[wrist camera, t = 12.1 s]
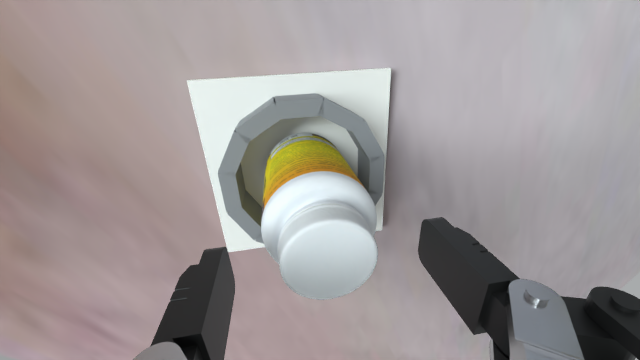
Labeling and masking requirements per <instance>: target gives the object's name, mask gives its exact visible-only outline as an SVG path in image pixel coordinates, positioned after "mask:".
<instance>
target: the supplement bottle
mask: <svg viewBox="0 0 640 360" xmlns="http://www.w3.org/2000/svg"><path fill="white" fill-rule="evenodd" d="M376 226H377V213H376V208H375V205H374V203H373V200H372V198H371V197H370V195H369V193H368V192H367V190H366V189H365V188H364V186H363V185H362V183H361V182H360V181H359V179H358V178H357V176H356V175H355V174H354V172H353V171H352V169H351V168H350V166H349V165H348V163H347V162H346V161H345V159H344V158H343V157H342V155H341V154H340V152H339V151H338V149H337V148H336V147H335V146H334V145H333V144H332V143H331V142H330V141H329V140H328V139H326V138H324V137H322V136H320V135H318V134H314V133H297V134H293V135H290V136H288V137H286V138H284V139H283V140H281V141H280V142H279V143H278V144H276V146H275V147H274V148H273V149H272V151H271V152H270V154H269V156H268V159H267V162H266V168H265V179H264V193H263V206H262V216H261V233H262V239H263V242H264V245H265V247H266V249H267V251H268V253H269V254H270V255H271V257H272V258H273V259H274V260H275V261H276V262H277V263H278V264H279V266H280V272H281V275H282V278H283V280H284V282H285V283H286V285H287V286H288V287H289V288H290V289H291V290H293V291H294V292H295V293H297V294H299V295H301V296H304V297H307V298H311V299H317V300H325V299H333V298H337V297H341V296H344V295H346V294H349V293H350V292H352V291H354V290H356V289H357V288H358V287H360V286H361V285H362V284H363V283H364V282H365V281H366V280H367V279H368V278H369V277H370V275H371V274H372V272H373V270H374V268H375V266H376V263H377V258H378V249H377V244H376V241H375V239H374V234H375V231H376Z"/></svg>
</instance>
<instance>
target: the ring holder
mask: <svg viewBox="0 0 640 360" xmlns="http://www.w3.org/2000/svg"><path fill="white" fill-rule="evenodd" d="M390 80H391V68H378V69H362V70H345V71H329V72H312V73H296V74H279V75H263V76H246V77H230V78H213V79H197V80H188V81H187V84H188V88H189V92H190V96H191V100H192V105H193V109H194V113H195V117H196V121H197V125H198V130H199V134H200V138H201V142H202V146H203V150H204V154H205V159H206V163H207V167H208V171H209V175H210V179H211V183H212V188H213V192H214V196H215V200H216V204H217V208H218V213H219V217H220V221H221V225H222V229H223V233H224V237H225V242H226V246H227V250H228V252H233V251H240V250H247V249H254V248H261V247H265V245H264V242H263V239H262V233H261V216H262V206H263V193H264V179H265V168H266V162H267V159H268V156H269V154H270V152H271V151H272V149H273V148H274V147H275V146H276V144H278V143H279V142H280V141H281V140H283V139H284V138H286V137H288V136H290V135H293V134H297V133H314V134H318V135H320V136H322V137H324V138H326V139H328V140H329V141H330V142H331V143H332V144H333V145H334V146H335V147H336V148H337V149H338V151H339V152H340V154H341V155H342V157H343V158H344V159H345V161H346V162H347V163H348V165H349V166H350V168H351V169H352V171H353V172H354V174H355V175H356V176H357V178H358V179H359V181H360V182H361V183H362V185H363V186H364V188H365V189H366V190H367V192H368V193H369V195H370V197H371V198H372V200H373V203H374V205H375V208H376V213H377V226H376V231H381V230H382V224H383V206H384V188H385V170H386V152H387V134H388V116H389V98H390Z"/></svg>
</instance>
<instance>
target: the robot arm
mask: <svg viewBox="0 0 640 360" xmlns="http://www.w3.org/2000/svg"><path fill="white" fill-rule="evenodd" d="M418 253H419V258H420V260H421V263H422V264H423V266H424V267H425V268H426V270H427V271H428V273H429V274H430V275H431V277H432V278H433V279H434V281H435V282H436V284H437V285H438V286H439V288H440V289H441V290H442V292H443V293H444V295H445V296H446V297H447V299H448V300H449V301H450V303H451V304H452V306H453V307H454V308H455V310H456V311H457V312H458V314H459V315H460V317H461V318H462V319H463V321H464V322H465V323H466V325H467V326H468V328H469V329H470V330H471V332H472V333H473V334H474V335H475V334H480V333H485V332H487V333H488V334H489V336H490V337H491V340H490V344H489V348H490V360H635V358H637V359H638V360H640V299H638V298H637V297H635V296H633V295H631V294H628V293H626V292H624V291H621V290H618V289H614V288H609V287H595V288H593V289H592V290H591V291H590V293H589V295H588V297H587V299H582V298H572V297H563V296H559V295H558V294H557V293H556V292H555V291H553V290H552V289H550V288H549V287H547V286H545V285H543V284H541V283H538V282H535V281H532V280H527V279H519V278H518V277H517V276H516V275H515V274H514V273H513V272H512V271H510V270H509V269H508V268H507V267H506V266H505V265H504V264H503V263H502V262H500V261H499V260H498V259H497V258H496V257H495V256H494V255H493V254H491V253H490V252H488V251H487V249H486V248H485V247H484V246H482V245H480V244H479V242H478V241H477V240H476V239H475V238H474V237H472V236H471V235H470V234H468V233H467V232H465V231H463V230H461V229H459V228H454V227H453V226H452V225H451V224H450V223H449V222H448V221H447V220H446V219H444V218H442V217H440V218H433V219H426V220H423V222H422V225H421V232H420V240H419V247H418ZM234 294H235V280H234V275H233V271H232V267H231V263H230V259H229V255H228V251H227V248H226V247H220V248H213V249H206V250H204V252H203V254H202V257H201V260H200V263H199V264H198V265H191V266H190V267H189V268H188V269H187V270H186V271H185V272H184V273H183V274H182V275H181V276H180V278H179V281H178V283H177V285H176V288H175V292H173V295H172V297H171V299H170V300H171V301H170V302H169V304H168V306H167V309H166V311H165V313H164V316H163V318H162V320H161V323H160V325H159V327H158V330H157V332H156V335H155V337H154V339H153V342H152V344H151V346H150V347H149V348H147V349H145V350H144V351H142V352H141V353H140V354H138V355H137V356H136V357H135V358H134V359H133V360H224V355H225V349H226V343H227V337H228V331H229V325H230V319H231V312H232V306H233V300H234Z"/></svg>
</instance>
